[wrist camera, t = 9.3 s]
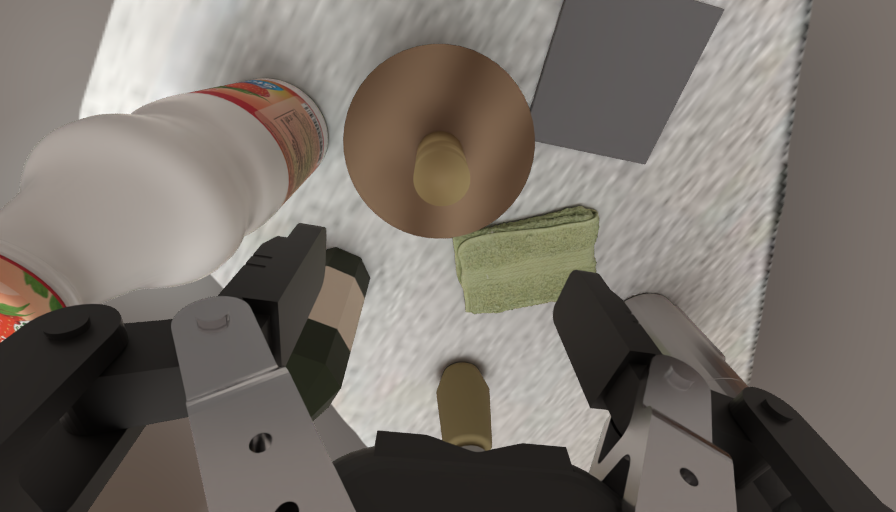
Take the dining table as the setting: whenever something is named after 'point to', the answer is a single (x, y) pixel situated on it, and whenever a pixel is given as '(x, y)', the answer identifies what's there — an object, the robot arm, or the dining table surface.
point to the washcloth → (524, 259)
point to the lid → (439, 141)
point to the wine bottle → (329, 332)
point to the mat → (618, 73)
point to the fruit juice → (152, 194)
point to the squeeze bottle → (465, 408)
